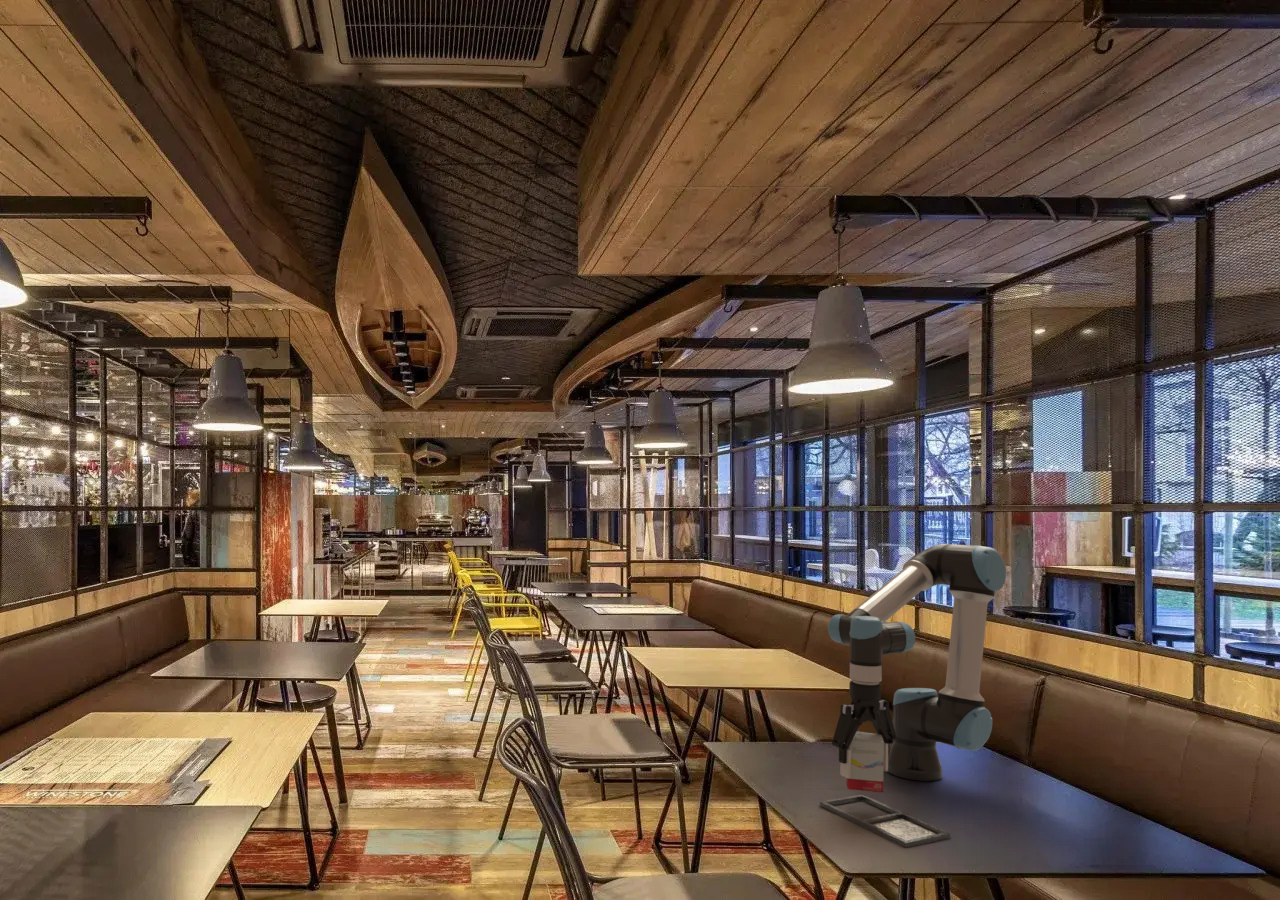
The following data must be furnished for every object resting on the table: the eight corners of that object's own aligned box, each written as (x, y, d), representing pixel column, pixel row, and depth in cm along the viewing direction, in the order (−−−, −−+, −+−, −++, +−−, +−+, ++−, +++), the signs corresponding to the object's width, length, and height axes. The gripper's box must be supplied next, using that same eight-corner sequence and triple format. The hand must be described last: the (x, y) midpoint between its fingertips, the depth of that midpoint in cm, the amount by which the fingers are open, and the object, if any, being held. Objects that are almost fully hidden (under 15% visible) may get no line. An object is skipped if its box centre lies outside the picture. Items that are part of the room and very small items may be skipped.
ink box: (884, 793, 192) (884, 741, 193) (846, 789, 194) (847, 738, 195) (881, 781, 201) (881, 732, 201) (845, 777, 202) (845, 729, 203)
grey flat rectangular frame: (862, 798, 206) (862, 794, 206) (950, 837, 183) (950, 833, 183) (819, 805, 199) (819, 801, 199) (905, 847, 176) (905, 843, 176)
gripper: (889, 674, 208) (888, 762, 207) (817, 682, 196) (815, 775, 195) (912, 680, 202) (911, 771, 200) (839, 688, 190) (838, 785, 188)
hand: (864, 773), depth 198 cm, fingers closed on ink box, 11 cm apart
